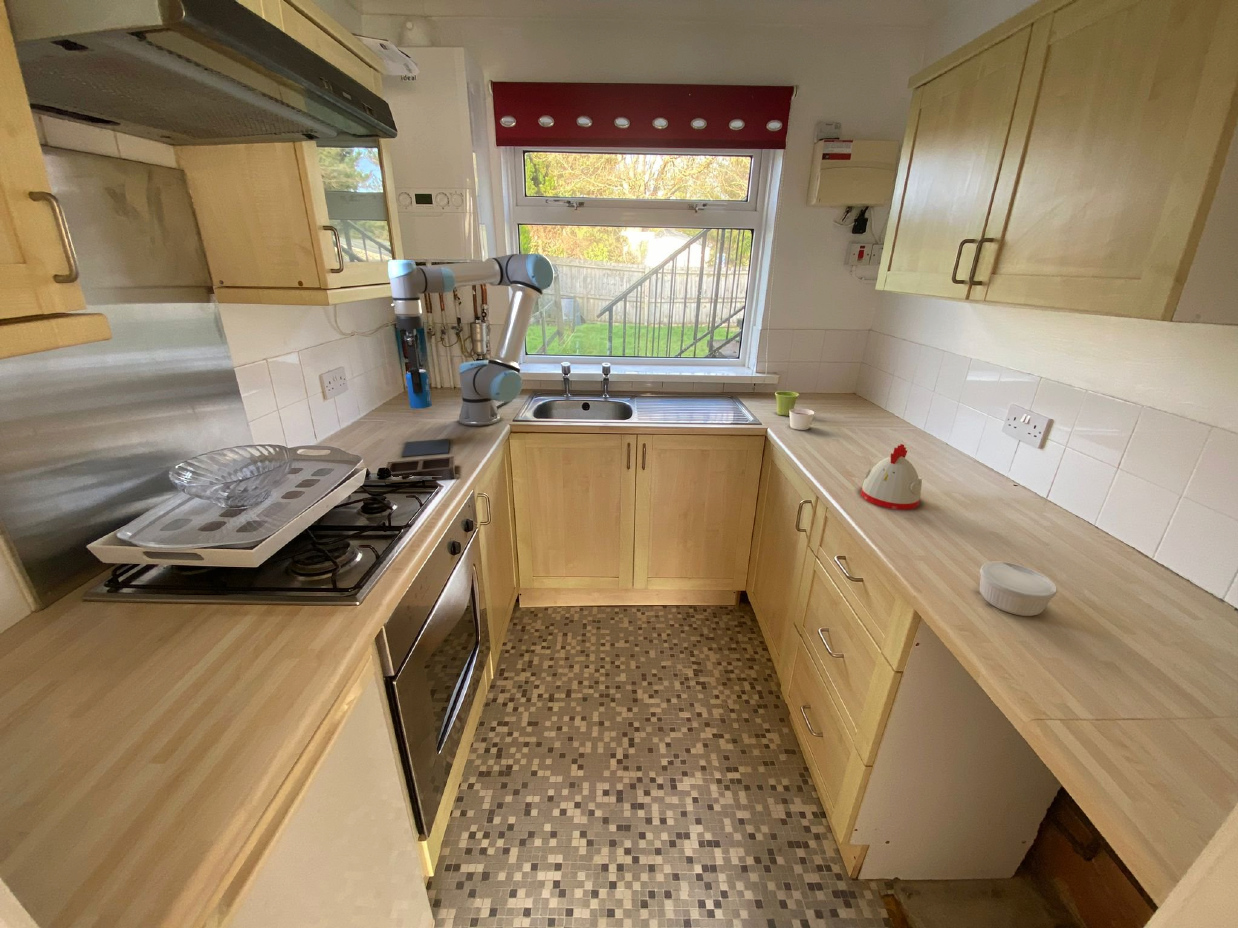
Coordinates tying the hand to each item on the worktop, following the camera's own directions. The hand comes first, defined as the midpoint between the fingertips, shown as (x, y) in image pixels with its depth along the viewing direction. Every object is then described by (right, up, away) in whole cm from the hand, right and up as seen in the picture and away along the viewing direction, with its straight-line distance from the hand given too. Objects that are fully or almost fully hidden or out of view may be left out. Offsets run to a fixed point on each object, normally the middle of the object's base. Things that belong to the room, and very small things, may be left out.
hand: (419, 390), depth 161 cm
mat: (0, -18, +8) cm, 20 cm away
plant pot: (+132, -3, +50) cm, 141 cm away
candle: (+132, -10, +33) cm, 137 cm away
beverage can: (0, -6, +2) cm, 6 cm away
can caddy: (+6, -27, -14) cm, 31 cm away
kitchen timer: (+136, -33, -25) cm, 142 cm away
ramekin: (+136, -49, -67) cm, 159 cm away
